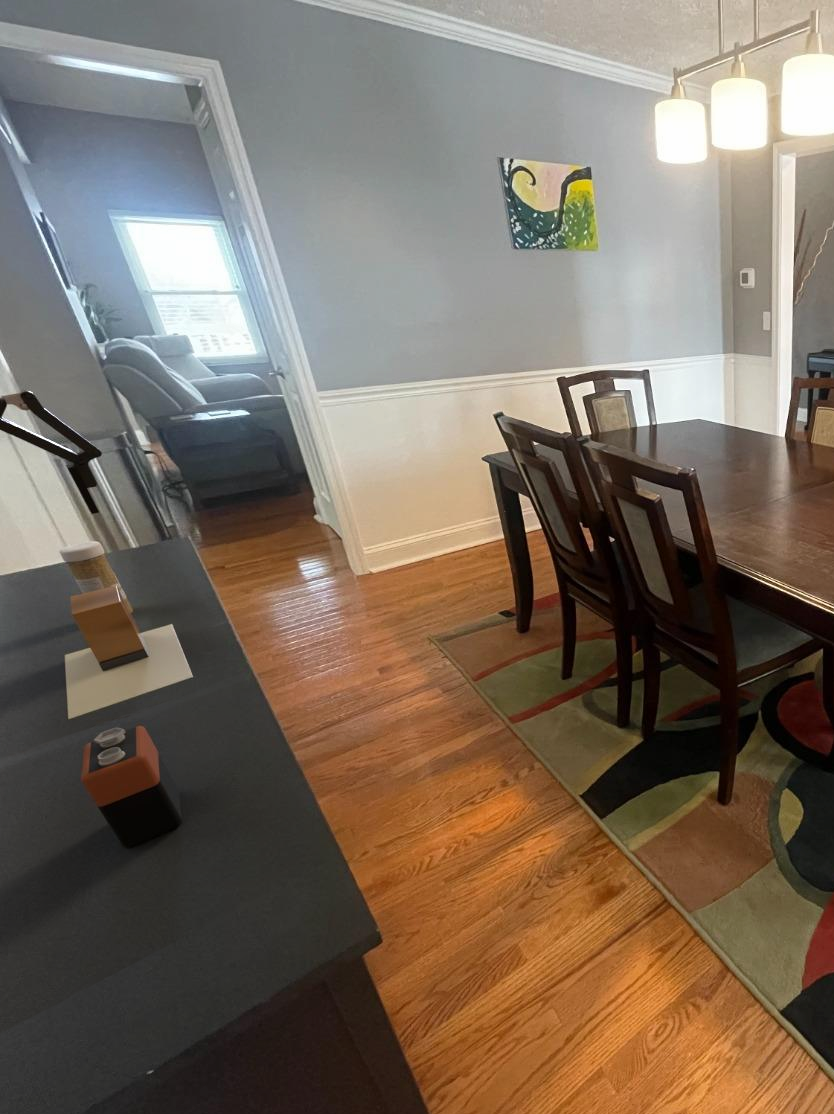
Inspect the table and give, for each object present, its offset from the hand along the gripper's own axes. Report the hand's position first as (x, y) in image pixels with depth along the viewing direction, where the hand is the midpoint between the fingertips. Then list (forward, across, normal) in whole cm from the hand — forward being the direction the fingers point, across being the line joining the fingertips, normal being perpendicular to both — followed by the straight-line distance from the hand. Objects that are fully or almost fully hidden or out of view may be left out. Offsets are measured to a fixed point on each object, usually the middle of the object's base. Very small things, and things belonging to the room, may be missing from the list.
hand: (22, 526), depth 78 cm
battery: (+22, -1, -45) cm, 50 cm away
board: (+22, +2, -6) cm, 23 cm away
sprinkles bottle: (+22, +4, +17) cm, 28 cm away
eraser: (+21, +3, -1) cm, 21 cm away
